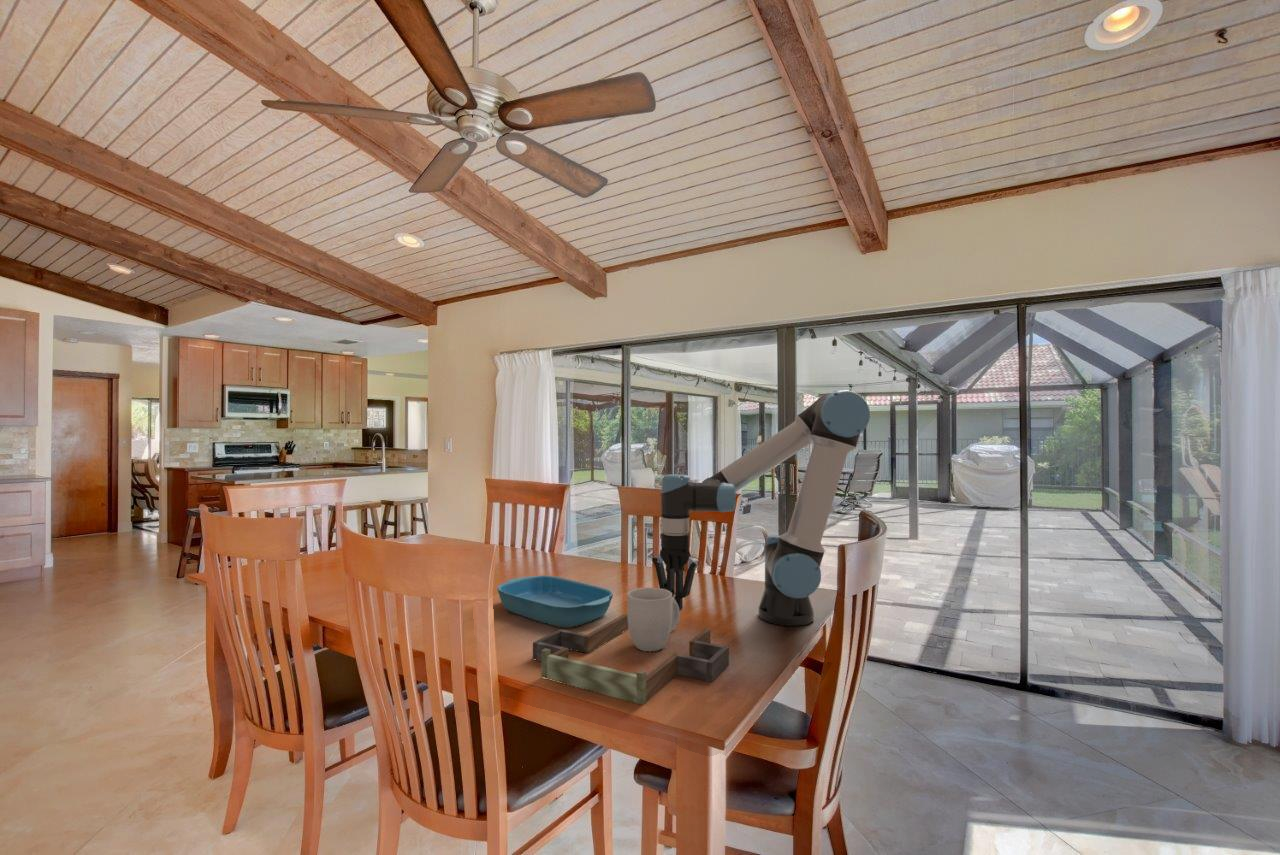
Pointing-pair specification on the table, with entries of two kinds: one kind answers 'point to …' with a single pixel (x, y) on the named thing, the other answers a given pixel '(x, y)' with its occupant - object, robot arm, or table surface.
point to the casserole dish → (555, 600)
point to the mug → (651, 617)
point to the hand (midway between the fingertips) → (674, 622)
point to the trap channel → (619, 684)
